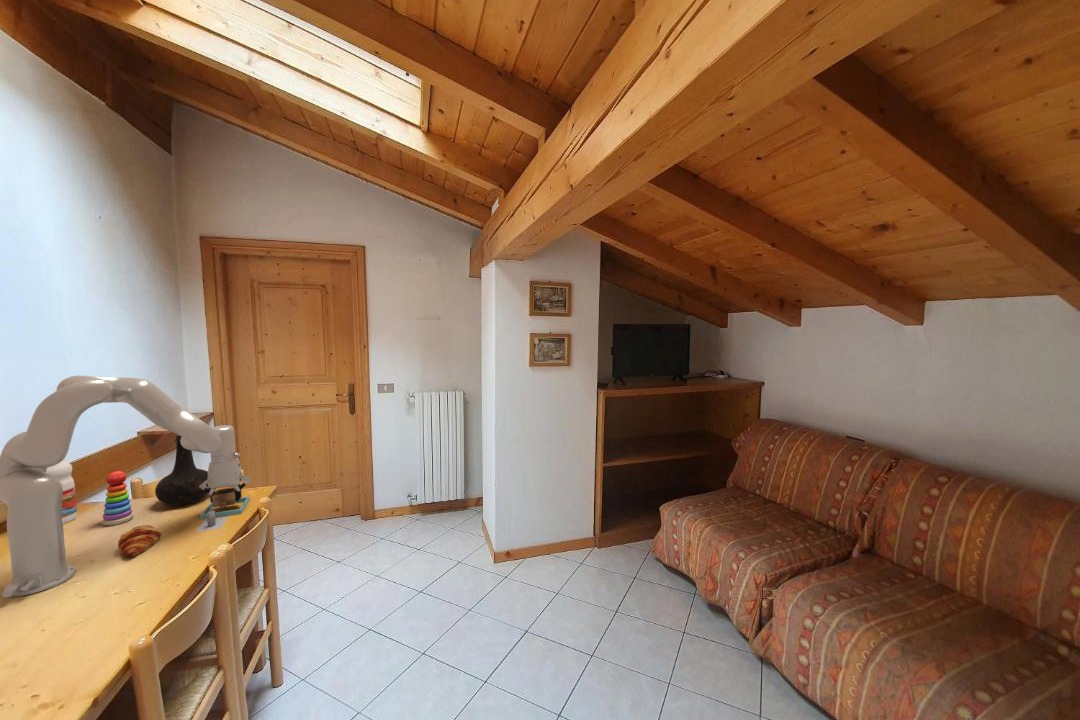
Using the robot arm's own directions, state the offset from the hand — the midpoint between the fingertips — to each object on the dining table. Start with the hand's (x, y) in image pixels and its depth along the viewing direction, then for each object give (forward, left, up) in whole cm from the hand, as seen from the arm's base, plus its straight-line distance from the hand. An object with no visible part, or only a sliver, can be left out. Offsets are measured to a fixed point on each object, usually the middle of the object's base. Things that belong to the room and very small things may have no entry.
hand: (226, 501), depth 156 cm
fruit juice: (+13, +54, -4) cm, 56 cm away
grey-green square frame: (0, 0, -4) cm, 4 cm away
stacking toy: (+5, +34, -4) cm, 35 cm away
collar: (0, 0, 0) cm, 0 cm away
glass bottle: (+17, +18, -4) cm, 25 cm away
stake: (-13, +1, -4) cm, 14 cm away
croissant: (-19, +18, -4) cm, 27 cm away
